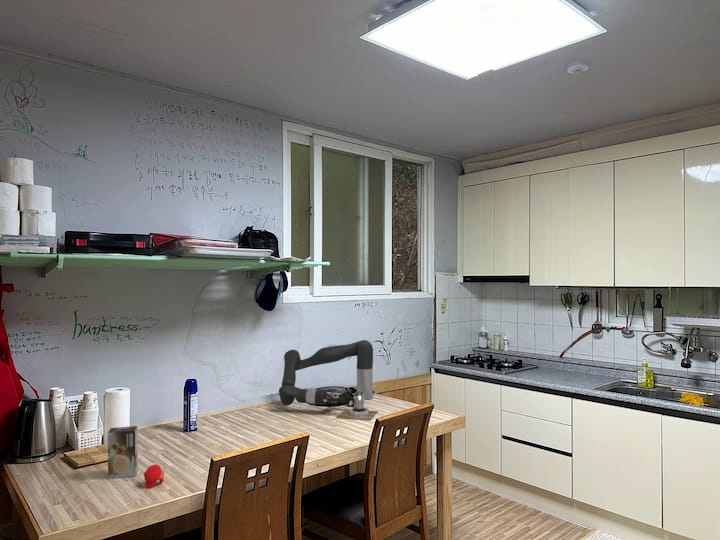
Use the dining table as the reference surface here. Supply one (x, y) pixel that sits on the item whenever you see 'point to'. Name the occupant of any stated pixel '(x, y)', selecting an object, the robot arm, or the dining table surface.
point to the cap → (153, 476)
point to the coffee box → (122, 452)
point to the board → (346, 415)
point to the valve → (351, 401)
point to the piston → (358, 402)
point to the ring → (359, 413)
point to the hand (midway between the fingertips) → (346, 398)
